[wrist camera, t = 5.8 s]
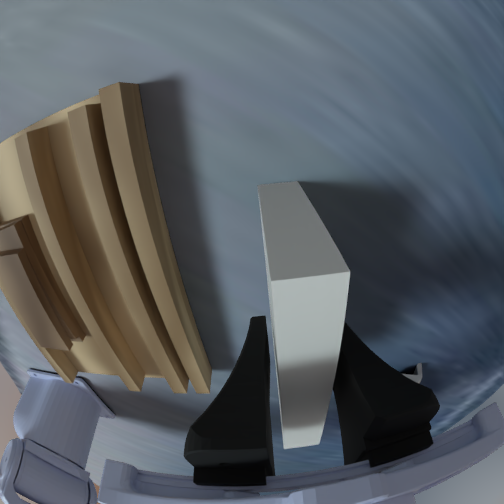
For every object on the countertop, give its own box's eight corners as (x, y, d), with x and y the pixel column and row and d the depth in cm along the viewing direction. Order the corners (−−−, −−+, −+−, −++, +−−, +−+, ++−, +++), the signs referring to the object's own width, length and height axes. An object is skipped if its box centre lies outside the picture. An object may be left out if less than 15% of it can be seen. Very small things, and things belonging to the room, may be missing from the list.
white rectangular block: (273, 348, 20) (283, 448, 13) (257, 184, 14) (271, 281, 7) (301, 344, 20) (319, 444, 13) (297, 181, 14) (350, 271, 7)
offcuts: (55, 333, 18) (44, 352, 16) (-1, 223, 13) (-19, 238, 11) (89, 335, 18) (79, 355, 16) (31, 213, 13) (11, 228, 11)
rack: (73, 364, 21) (64, 384, 19) (-23, 160, 11) (-47, 172, 9) (211, 369, 21) (209, 396, 19) (138, 84, 11) (116, 82, 9)
